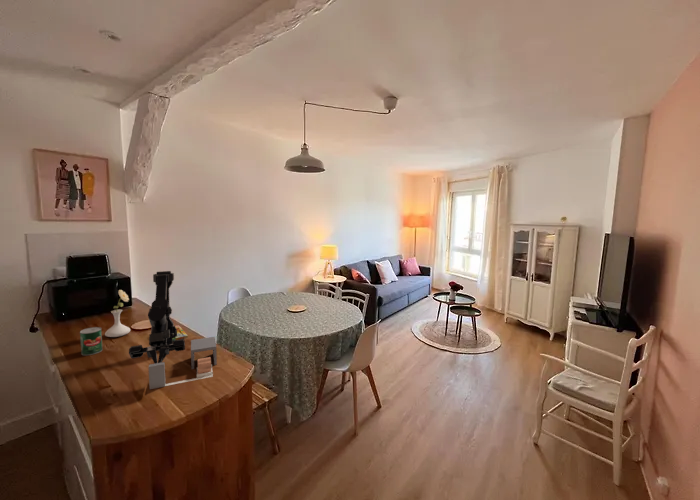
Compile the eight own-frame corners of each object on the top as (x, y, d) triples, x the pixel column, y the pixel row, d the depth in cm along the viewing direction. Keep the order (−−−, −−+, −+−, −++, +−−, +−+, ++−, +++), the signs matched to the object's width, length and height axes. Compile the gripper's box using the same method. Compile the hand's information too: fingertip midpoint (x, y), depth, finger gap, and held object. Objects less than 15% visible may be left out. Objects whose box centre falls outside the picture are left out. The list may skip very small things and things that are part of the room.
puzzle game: (178, 323, 174) (187, 333, 160) (178, 331, 175) (187, 342, 160) (154, 328, 167) (162, 339, 152) (155, 336, 167) (162, 348, 152)
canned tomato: (90, 356, 141) (88, 333, 140) (76, 354, 143) (75, 332, 142) (106, 349, 149) (105, 327, 148) (94, 347, 151) (92, 326, 149)
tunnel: (191, 359, 140) (191, 340, 139) (215, 355, 145) (214, 336, 144) (191, 371, 130) (190, 350, 129) (216, 367, 134) (216, 346, 133)
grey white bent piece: (152, 380, 122) (151, 356, 121) (212, 368, 132) (211, 347, 131) (149, 391, 114) (148, 366, 113) (213, 379, 124) (212, 355, 123)
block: (198, 370, 129) (197, 359, 128) (210, 367, 131) (210, 357, 130) (198, 375, 124) (197, 364, 124) (211, 373, 127) (211, 362, 126)
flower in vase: (120, 339, 161) (117, 294, 158) (99, 338, 161) (96, 293, 158) (137, 330, 174) (135, 288, 171) (118, 329, 174) (115, 287, 171)
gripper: (128, 326, 115) (123, 367, 107) (183, 320, 124) (183, 357, 115) (133, 338, 123) (129, 377, 114) (185, 331, 131) (185, 367, 123)
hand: (157, 369), depth 116 cm, fingers closed
